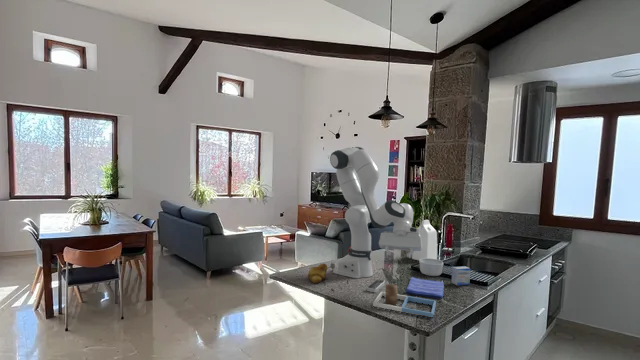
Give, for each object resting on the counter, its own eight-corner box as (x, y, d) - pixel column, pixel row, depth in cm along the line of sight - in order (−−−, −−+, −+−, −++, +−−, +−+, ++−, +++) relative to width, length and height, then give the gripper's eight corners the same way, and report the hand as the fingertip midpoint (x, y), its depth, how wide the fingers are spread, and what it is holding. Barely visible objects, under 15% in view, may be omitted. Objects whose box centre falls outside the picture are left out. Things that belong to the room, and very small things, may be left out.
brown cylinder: (384, 304, 147) (384, 286, 147) (386, 300, 152) (387, 283, 152) (395, 307, 145) (396, 288, 145) (398, 302, 150) (398, 285, 150)
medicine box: (456, 285, 174) (457, 269, 173) (451, 282, 178) (451, 266, 178) (469, 284, 176) (470, 268, 176) (464, 281, 180) (464, 265, 180)
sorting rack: (372, 307, 144) (373, 302, 144) (380, 295, 158) (381, 291, 158) (432, 318, 135) (432, 313, 135) (435, 305, 148) (436, 300, 148)
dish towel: (404, 295, 161) (404, 289, 161) (410, 280, 183) (410, 274, 183) (442, 300, 155) (442, 294, 154) (444, 284, 177) (444, 279, 176)
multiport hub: (366, 292, 163) (366, 287, 163) (377, 283, 176) (377, 279, 176) (375, 293, 161) (375, 289, 161) (385, 285, 174) (385, 280, 174)
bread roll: (322, 285, 171) (322, 269, 170) (303, 283, 173) (304, 267, 173) (328, 277, 183) (328, 262, 183) (310, 275, 185) (311, 261, 185)
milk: (422, 255, 233) (423, 218, 232) (437, 259, 224) (438, 220, 223) (411, 258, 225) (412, 219, 224) (427, 262, 217) (428, 222, 216)
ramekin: (446, 277, 188) (446, 264, 187) (422, 276, 188) (422, 264, 188) (438, 270, 201) (438, 258, 201) (416, 269, 201) (416, 257, 201)
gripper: (380, 227, 169) (375, 250, 160) (422, 229, 161) (419, 254, 152) (382, 234, 173) (377, 258, 164) (423, 237, 165) (421, 262, 156)
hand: (398, 256), depth 158 cm, fingers open, 8 cm apart
